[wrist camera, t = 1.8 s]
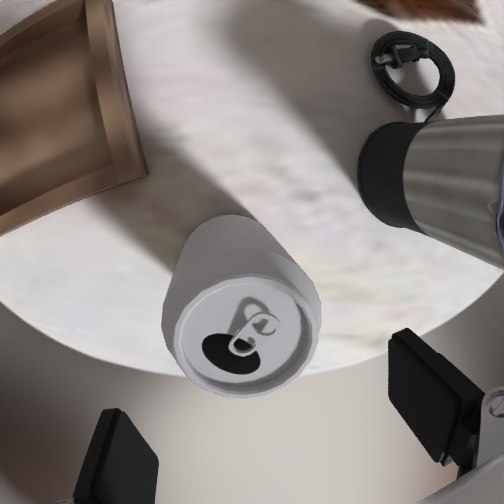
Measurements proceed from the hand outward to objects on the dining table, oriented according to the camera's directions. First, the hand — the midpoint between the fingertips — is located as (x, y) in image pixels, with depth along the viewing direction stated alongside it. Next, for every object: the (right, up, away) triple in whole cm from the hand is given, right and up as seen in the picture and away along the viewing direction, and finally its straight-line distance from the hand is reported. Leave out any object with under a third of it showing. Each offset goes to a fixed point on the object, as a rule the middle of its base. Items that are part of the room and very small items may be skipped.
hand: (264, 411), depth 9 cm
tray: (-17, +16, +9) cm, 26 cm away
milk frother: (+12, +16, +13) cm, 24 cm away
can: (-2, +5, +15) cm, 15 cm away
